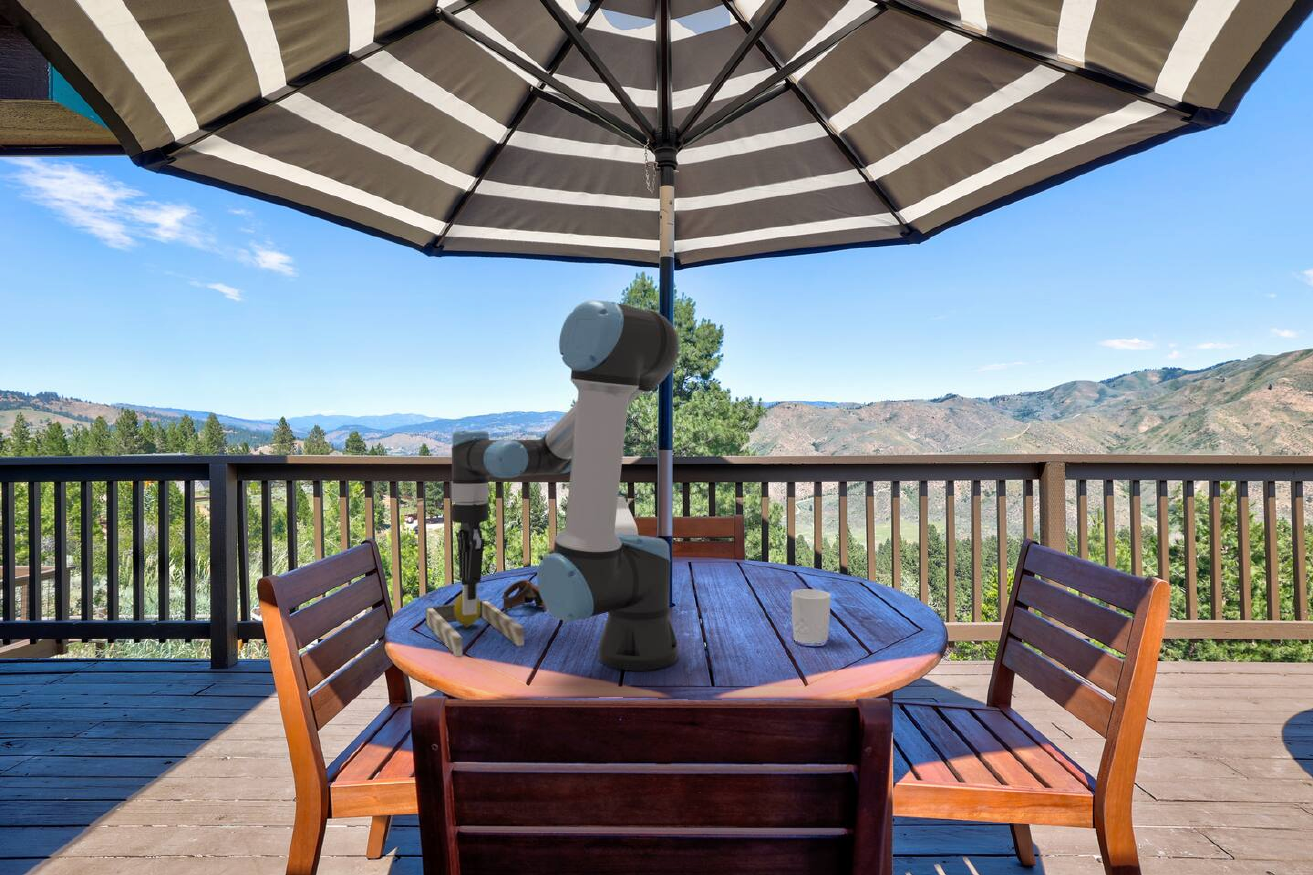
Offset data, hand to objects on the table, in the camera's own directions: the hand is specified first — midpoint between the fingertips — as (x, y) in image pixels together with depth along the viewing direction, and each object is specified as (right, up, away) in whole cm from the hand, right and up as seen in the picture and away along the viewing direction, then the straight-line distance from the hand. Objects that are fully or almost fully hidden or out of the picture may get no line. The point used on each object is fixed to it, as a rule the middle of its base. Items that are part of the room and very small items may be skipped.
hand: (469, 613), depth 140 cm
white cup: (+71, -5, -5) cm, 72 cm away
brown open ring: (+8, -4, +18) cm, 20 cm away
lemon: (-1, -4, +3) cm, 5 cm away
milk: (+28, -4, +29) cm, 40 cm away
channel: (+1, -4, -1) cm, 4 cm away
